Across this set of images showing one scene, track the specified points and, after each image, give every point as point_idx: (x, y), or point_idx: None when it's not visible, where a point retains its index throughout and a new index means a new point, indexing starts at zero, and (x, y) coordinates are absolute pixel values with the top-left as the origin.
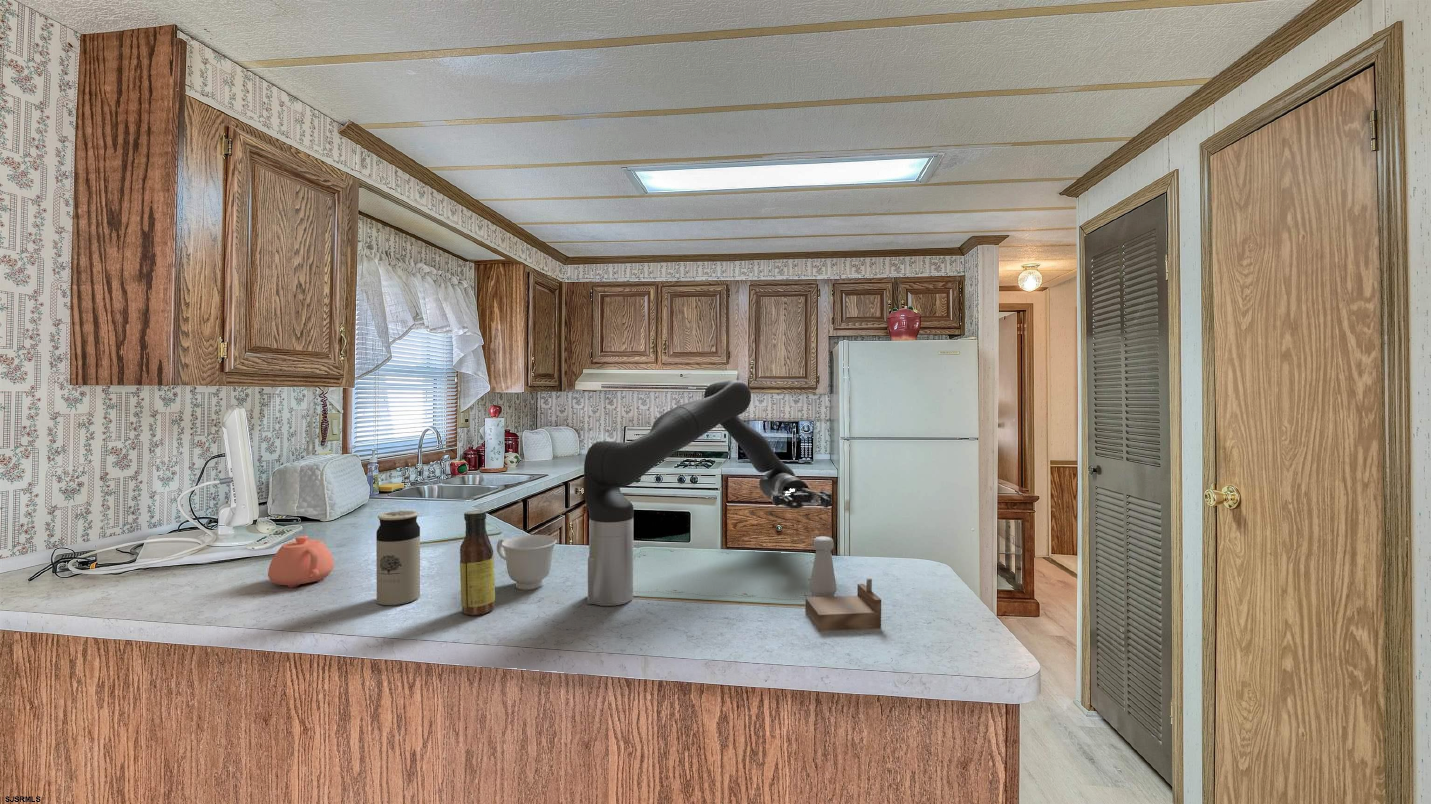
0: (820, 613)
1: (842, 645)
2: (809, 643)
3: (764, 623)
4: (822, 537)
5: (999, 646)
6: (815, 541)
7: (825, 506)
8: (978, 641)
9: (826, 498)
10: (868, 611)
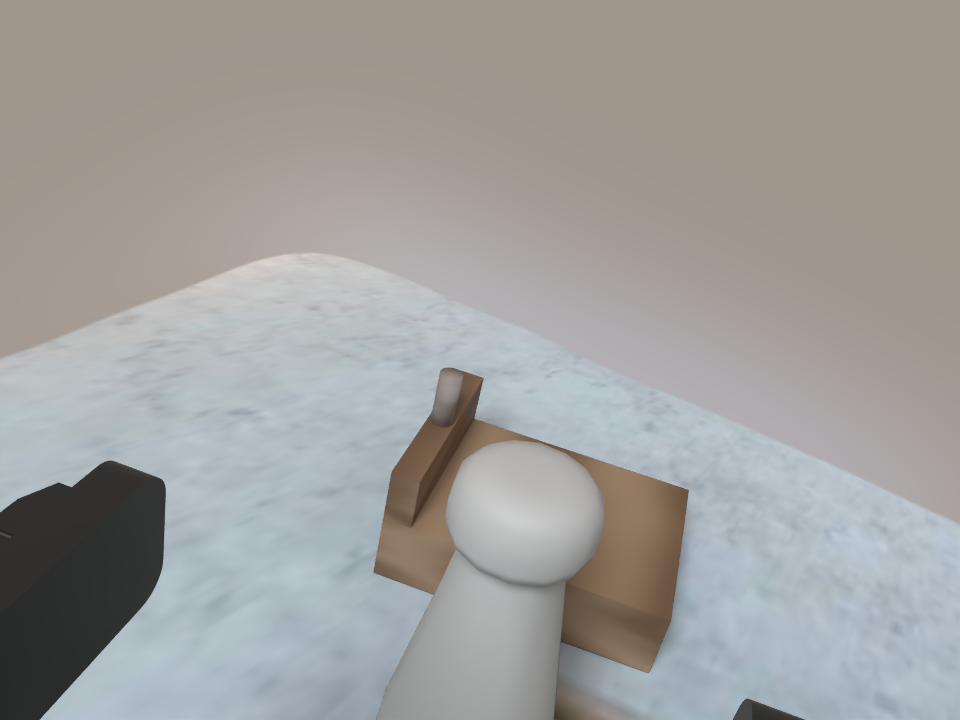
0: (678, 494)
1: (639, 456)
2: (737, 503)
3: (870, 674)
4: (542, 477)
5: (228, 292)
6: (603, 502)
7: (160, 567)
8: (246, 318)
9: (127, 470)
10: (490, 432)
